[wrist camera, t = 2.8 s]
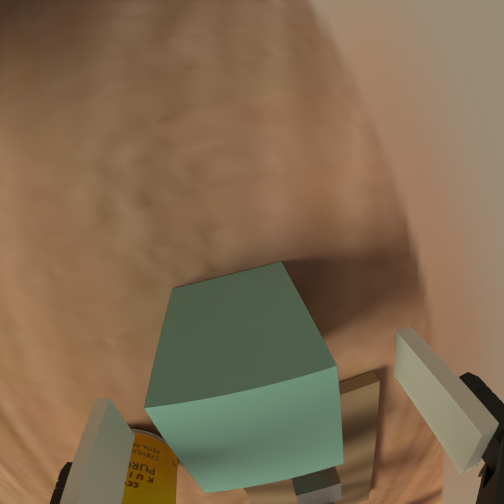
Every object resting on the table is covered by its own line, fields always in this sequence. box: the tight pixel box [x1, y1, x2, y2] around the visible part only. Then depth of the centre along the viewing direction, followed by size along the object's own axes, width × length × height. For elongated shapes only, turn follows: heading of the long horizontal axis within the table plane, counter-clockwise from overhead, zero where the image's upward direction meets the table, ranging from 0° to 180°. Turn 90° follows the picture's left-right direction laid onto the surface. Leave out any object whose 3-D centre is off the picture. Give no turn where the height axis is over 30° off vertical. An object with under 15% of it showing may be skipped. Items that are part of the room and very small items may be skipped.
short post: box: [292, 466, 342, 504], centre depth 19 cm, size 3×3×5 cm
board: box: [244, 371, 380, 504], centre depth 24 cm, size 22×12×1 cm, turn 13°
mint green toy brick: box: [144, 262, 344, 493], centre depth 14 cm, size 6×6×9 cm
